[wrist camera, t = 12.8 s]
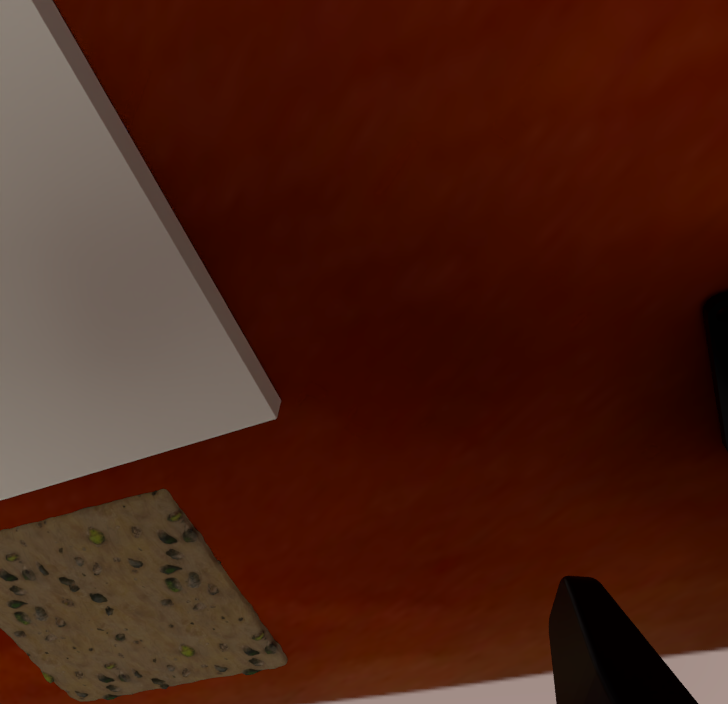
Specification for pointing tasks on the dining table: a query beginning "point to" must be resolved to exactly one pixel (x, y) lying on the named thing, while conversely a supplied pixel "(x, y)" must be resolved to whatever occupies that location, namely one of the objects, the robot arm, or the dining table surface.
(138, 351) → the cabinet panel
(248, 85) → the dining table surface
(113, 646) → the cookie
